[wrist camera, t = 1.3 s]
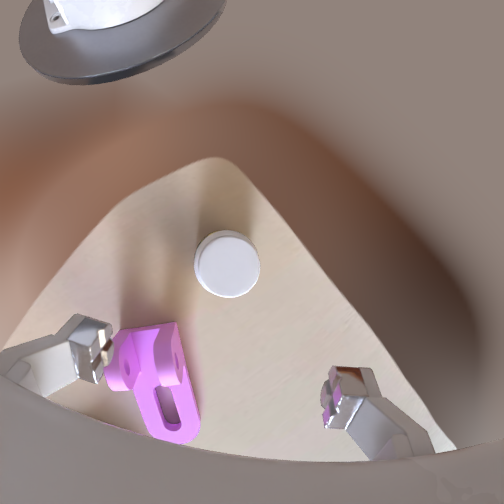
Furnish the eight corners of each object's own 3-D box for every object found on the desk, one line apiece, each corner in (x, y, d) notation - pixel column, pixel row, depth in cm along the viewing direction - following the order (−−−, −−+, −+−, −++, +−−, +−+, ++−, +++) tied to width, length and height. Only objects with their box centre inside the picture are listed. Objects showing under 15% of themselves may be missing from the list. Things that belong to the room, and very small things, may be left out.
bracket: (120, 329, 27) (98, 355, 20) (176, 321, 28) (169, 347, 21) (155, 439, 28) (148, 480, 21) (205, 433, 28) (208, 475, 22)
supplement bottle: (198, 228, 27) (197, 224, 19) (250, 234, 28) (271, 233, 20) (192, 281, 28) (189, 299, 19) (244, 286, 28) (261, 306, 20)
